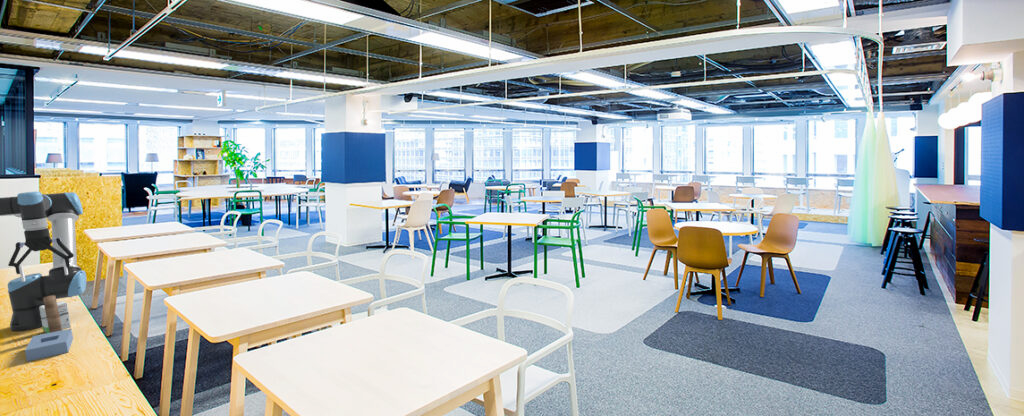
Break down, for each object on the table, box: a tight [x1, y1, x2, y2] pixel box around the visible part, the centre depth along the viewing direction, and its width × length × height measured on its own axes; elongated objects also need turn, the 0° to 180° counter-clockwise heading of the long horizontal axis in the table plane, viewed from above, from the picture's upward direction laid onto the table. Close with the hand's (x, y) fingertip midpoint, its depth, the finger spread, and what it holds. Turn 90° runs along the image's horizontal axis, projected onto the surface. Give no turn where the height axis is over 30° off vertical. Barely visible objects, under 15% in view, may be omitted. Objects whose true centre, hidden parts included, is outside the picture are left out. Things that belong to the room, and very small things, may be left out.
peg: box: [43, 295, 63, 333], centre depth 215 cm, size 4×4×18 cm
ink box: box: [39, 300, 72, 334], centre depth 224 cm, size 9×5×12 cm, turn 147°
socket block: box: [24, 328, 74, 362], centre depth 202 cm, size 18×12×4 cm, turn 37°
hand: (45, 277), depth 212 cm, fingers open, 13 cm apart
